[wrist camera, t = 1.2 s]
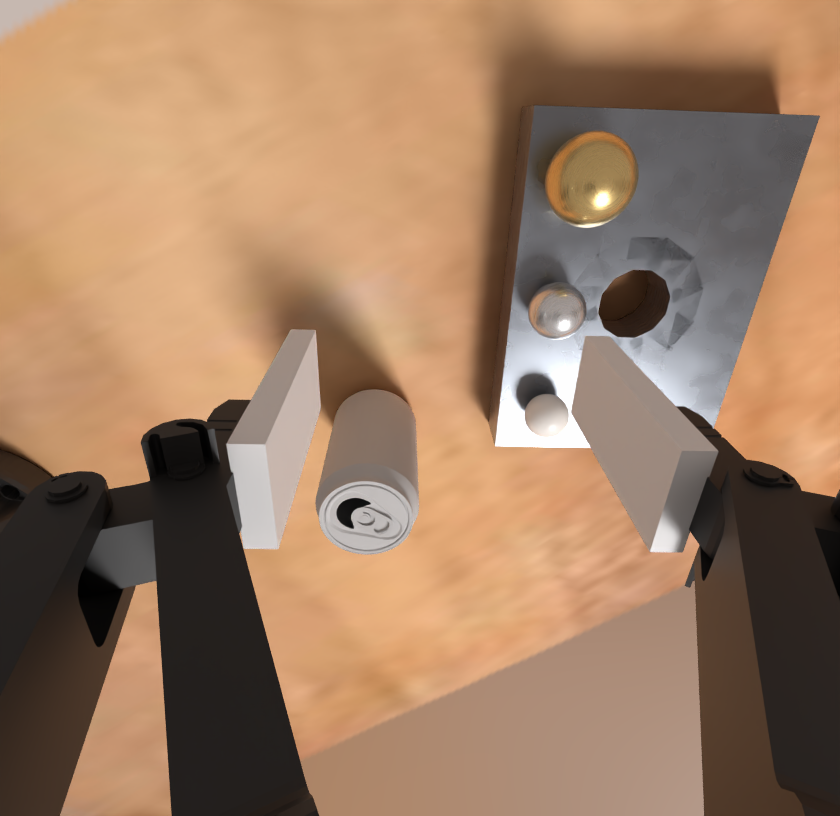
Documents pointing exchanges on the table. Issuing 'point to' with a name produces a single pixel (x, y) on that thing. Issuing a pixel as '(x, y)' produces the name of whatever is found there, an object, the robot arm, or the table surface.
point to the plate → (646, 254)
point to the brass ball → (591, 179)
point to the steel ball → (557, 311)
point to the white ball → (546, 415)
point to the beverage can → (370, 474)
